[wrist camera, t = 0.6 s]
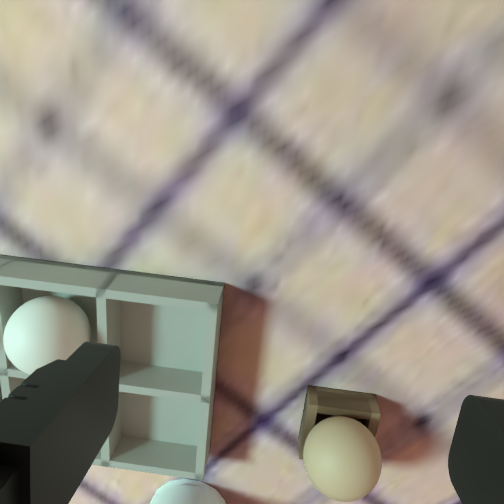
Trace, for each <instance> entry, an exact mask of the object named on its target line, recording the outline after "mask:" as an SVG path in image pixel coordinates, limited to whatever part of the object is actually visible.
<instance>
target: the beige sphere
mask: <svg viewBox="0 0 504 504" xmlns="http://www.w3.org/2000/svg"><path fill="white" fill-rule="evenodd" d="M303 460H304V466H305V469H306V472H307V475H308V477H309V479H310V480H311V482H312V483H313V485H314V486H315V487H316V488H317V489H318V490H319V491H320V492H321V493H323V494H324V495H326V496H327V497H329V498H331V499H334V500H337V501H344V502H349V501H355V500H358V499H360V498H362V497H364V496H366V495H367V494H368V493H369V492H370V491H371V490H372V489H373V488H374V487H375V485H376V484H377V482H378V479H379V477H380V474H381V468H382V457H381V451H380V448H379V445H378V443H377V441H376V439H375V437H374V436H373V434H372V433H371V432H370V430H369V429H368V428H367V427H365V426H364V425H363V424H362V423H360V422H358V421H357V420H354V419H352V418H349V417H344V416H334V417H329V418H326V419H324V420H322V421H320V422H319V423H318V424H317V425H315V426H314V427H313V428H312V430H311V431H310V433H309V434H308V436H307V439H306V441H305V445H304V450H303Z"/></svg>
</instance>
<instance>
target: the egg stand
mask: <svg viewBox="0 0 504 504" xmlns="http://www.w3.org/2000/svg"><path fill="white" fill-rule="evenodd" d="M334 416H344V417H349V418H352V419H354V420H357V421H358V422H360V423H362V424H363V425H364V426H365V427H367V428H368V429H369V430H370V432H371V433H372V434H373V436H374V437H375V435H376V431H377V427H378V424H379V420H380V416H381V413H380V409H379V406H378V402H377V399H376V395H375V394H368V393H361V392H353V391H346V390H338V389H331V388H323V387H316V386H308V388H307V393H306V399H305V404H304V410H303V415H302V421H301V426H300V432H299V459H303V450H304V445H305V441H306V439H307V436H308V434H309V433H310V431H311V430H312V428H313V427H314V426H315V425H317V424H318V423H319V422H320V421H322V420H324V419H326V418H329V417H334Z"/></svg>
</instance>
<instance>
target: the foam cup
mask: <svg viewBox="0 0 504 504" xmlns="http://www.w3.org/2000/svg"><path fill="white" fill-rule="evenodd" d="M150 504H226V503H225V500H224V499H223V498H222V496H221V495H220V494H219V493H218V491H217V490H216V489H214V488H213V487H211V486H209V485H207V484H205V483H203V482H202V481H196V480H190V479H179V480H173V481H168V482H167V483H165V484H164V485H163V486H161V487H160V488H158V489H157V490H156V493H155V495H154V496H153V498H152V500H151V502H150Z"/></svg>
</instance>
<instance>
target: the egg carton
mask: <svg viewBox="0 0 504 504" xmlns="http://www.w3.org/2000/svg"><path fill="white" fill-rule="evenodd" d="M223 295H224V283H221V282H213V281H205V280H197V279H189V278H181V277H174V276H166V275H158V274H150V273H142V272H134V271H126V270H118V269H110V268H102V267H94V266H86V265H78V264H70V263H62V262H54V261H47V260H39V259H31V258H23V257H15V256H7V255H0V393H1V399H2V400H3V399H4V398H5V397H6V398H8V395H9V394H10V393H11V392H12V391H13V390H14V389H15V388H16V387H17V386H21V383H22V382H23V381H24V380H25V379H26V378H27V377H28V376H30V374H27V373H25V372H23V371H21V370H19V369H18V368H17V367H15V366H14V365H13V364H12V362H11V361H10V360H9V358H8V357H7V355H6V352H5V349H4V344H3V335H4V330H5V327H6V324H7V322H8V320H9V318H10V317H11V316H12V314H13V313H14V312H15V311H16V310H17V309H18V308H19V307H20V306H22V305H23V304H24V303H26V302H28V301H30V300H32V299H35V298H38V297H43V296H59V297H63V298H66V299H69V300H71V301H73V302H74V303H76V304H77V305H78V306H80V307H81V308H82V310H83V311H84V312H85V314H86V315H87V317H88V320H89V322H90V326H91V339H90V342H95V343H102V344H110V345H117V346H119V348H120V378H119V398H118V410H117V415H116V419H115V423H114V426H113V428H112V431H111V433H110V435H109V436H108V438H107V440H106V441H105V443H104V445H103V446H102V448H101V450H100V451H99V453H98V455H97V456H96V458H95V460H94V462H93V463H92V465H99V466H106V467H113V468H120V469H127V470H134V471H141V472H148V473H155V474H162V475H169V476H176V477H183V478H190V479H197V480H203V478H204V474H205V469H206V465H207V460H208V455H209V451H210V443H211V432H212V421H213V409H214V398H215V386H216V375H217V363H218V352H219V341H220V329H221V318H222V306H223Z"/></svg>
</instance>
